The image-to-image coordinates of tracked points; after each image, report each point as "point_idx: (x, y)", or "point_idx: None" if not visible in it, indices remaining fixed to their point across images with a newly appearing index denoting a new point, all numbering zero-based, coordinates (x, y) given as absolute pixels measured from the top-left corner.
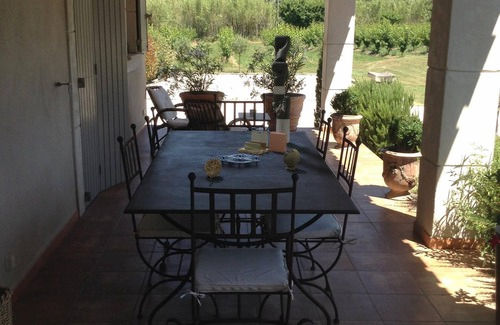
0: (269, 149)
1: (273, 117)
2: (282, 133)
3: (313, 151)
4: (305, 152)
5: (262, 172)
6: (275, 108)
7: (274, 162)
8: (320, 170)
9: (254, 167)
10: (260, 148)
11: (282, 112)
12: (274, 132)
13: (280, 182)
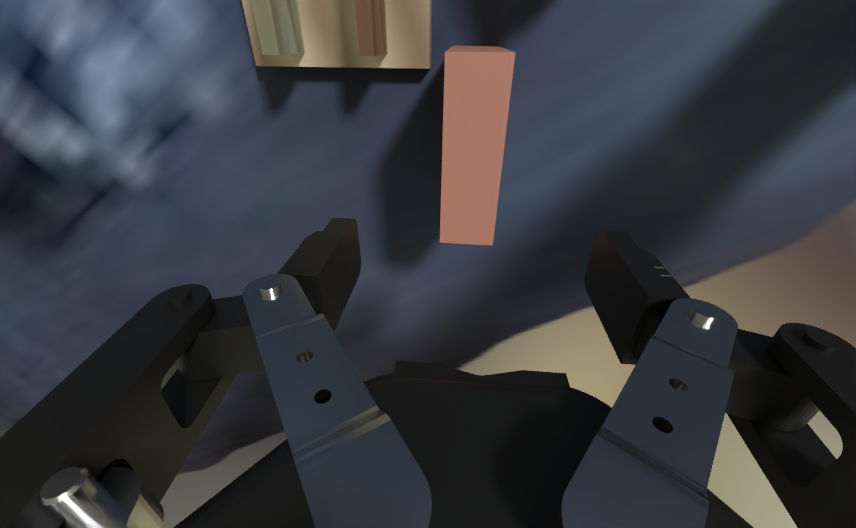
0: (423, 68)
1: (316, 232)
2: (488, 203)
3: (583, 306)
4: (528, 284)
5: (24, 309)
6: (193, 437)
7: (189, 266)
8: (242, 429)
9: (32, 244)
10: (292, 53)
11: (616, 335)
12: (503, 92)
13: (20, 396)
